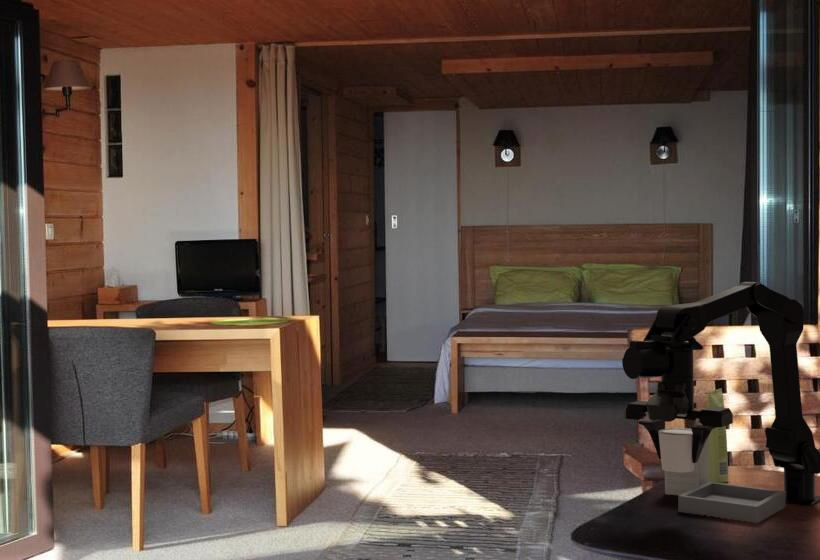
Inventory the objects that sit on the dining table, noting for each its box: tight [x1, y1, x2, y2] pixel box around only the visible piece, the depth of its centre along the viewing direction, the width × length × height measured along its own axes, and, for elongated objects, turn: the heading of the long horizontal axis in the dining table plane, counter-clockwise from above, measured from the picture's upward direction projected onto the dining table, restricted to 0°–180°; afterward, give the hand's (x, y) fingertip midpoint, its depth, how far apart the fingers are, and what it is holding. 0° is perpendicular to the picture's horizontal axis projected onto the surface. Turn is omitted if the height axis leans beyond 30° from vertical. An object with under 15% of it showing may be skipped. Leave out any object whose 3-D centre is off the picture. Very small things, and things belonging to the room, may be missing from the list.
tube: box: [706, 388, 729, 484], centre depth 225 cm, size 6×5×20 cm
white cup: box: [658, 428, 694, 472], centre depth 193 cm, size 7×7×7 cm
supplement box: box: [664, 427, 710, 496], centre depth 214 cm, size 7×7×13 cm
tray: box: [677, 482, 787, 524], centre depth 200 cm, size 15×15×3 cm
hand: (677, 460), depth 193 cm, fingers closed on white cup, 6 cm apart
